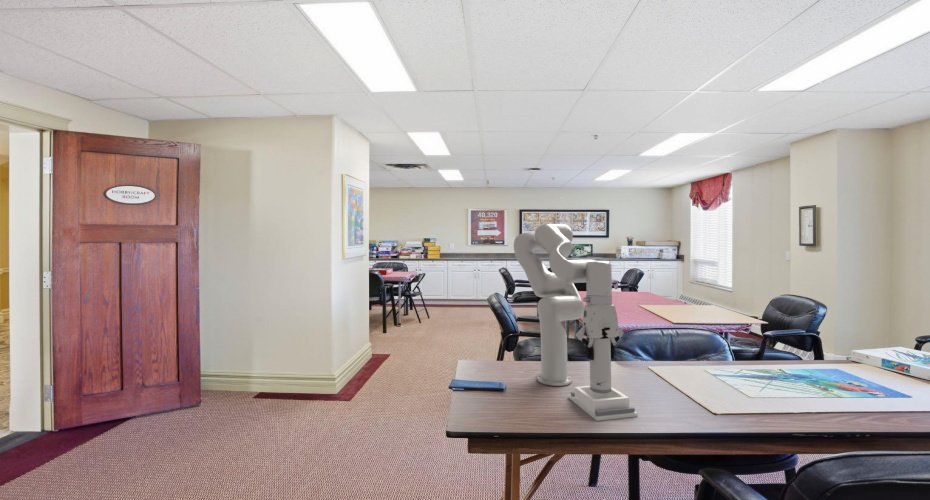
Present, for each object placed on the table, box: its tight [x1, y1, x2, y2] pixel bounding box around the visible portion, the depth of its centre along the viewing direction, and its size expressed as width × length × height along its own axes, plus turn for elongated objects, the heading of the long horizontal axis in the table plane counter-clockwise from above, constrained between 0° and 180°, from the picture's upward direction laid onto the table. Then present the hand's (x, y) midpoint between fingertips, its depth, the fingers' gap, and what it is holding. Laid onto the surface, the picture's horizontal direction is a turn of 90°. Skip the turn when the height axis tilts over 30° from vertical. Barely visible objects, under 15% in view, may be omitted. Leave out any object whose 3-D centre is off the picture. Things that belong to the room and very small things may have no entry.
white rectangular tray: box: [568, 385, 639, 422], centre depth 125 cm, size 18×13×4 cm
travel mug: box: [589, 327, 612, 394], centre depth 125 cm, size 6×7×20 cm
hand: (600, 357), depth 125 cm, fingers closed on travel mug, 6 cm apart
